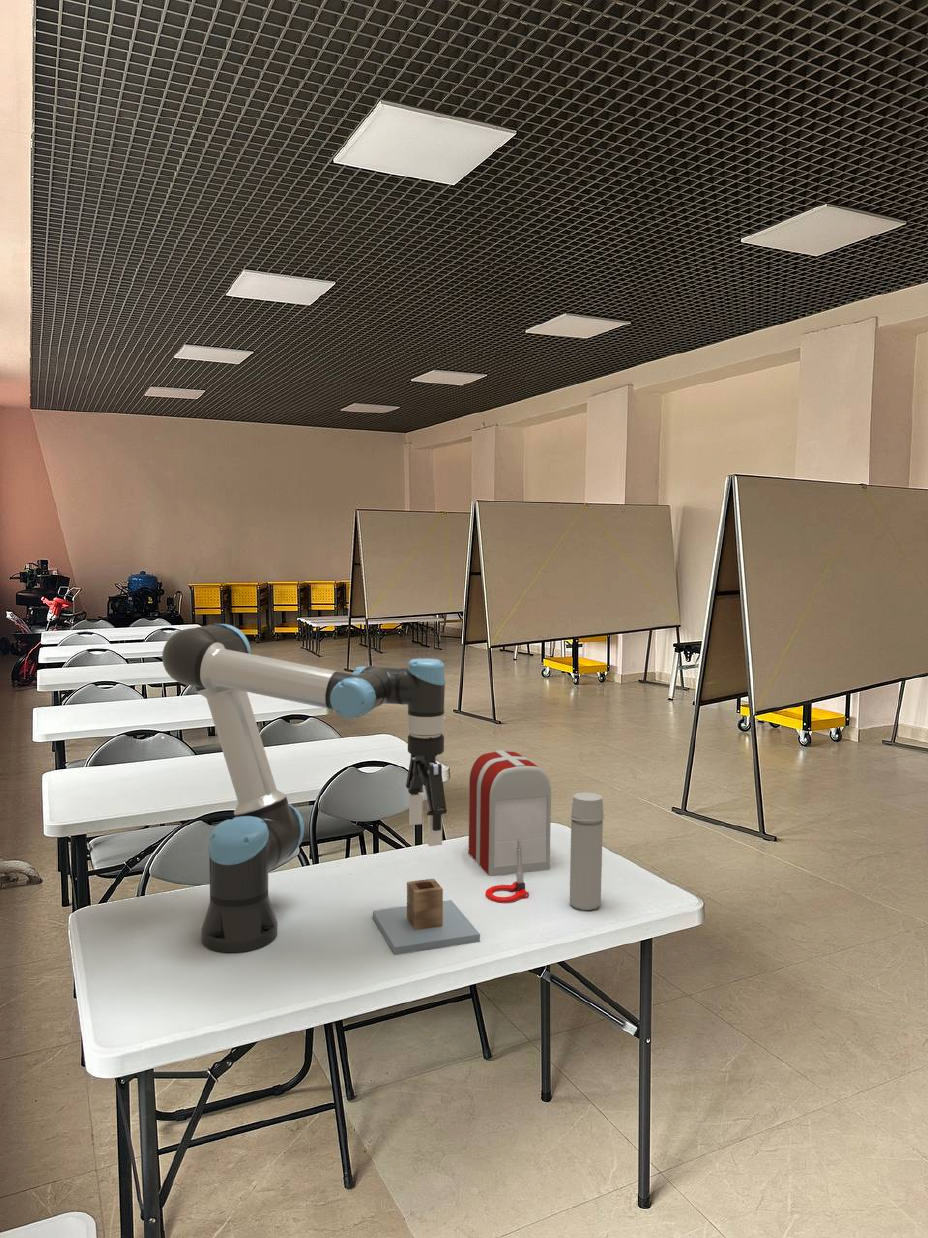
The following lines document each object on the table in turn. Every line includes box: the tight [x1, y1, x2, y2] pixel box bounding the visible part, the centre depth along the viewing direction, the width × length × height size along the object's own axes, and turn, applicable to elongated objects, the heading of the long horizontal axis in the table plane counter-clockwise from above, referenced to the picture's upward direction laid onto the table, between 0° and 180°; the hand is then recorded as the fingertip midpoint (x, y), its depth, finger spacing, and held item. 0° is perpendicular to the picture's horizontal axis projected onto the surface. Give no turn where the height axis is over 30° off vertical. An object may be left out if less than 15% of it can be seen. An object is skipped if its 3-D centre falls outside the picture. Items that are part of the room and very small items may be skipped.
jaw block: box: [406, 878, 444, 930], centre depth 184 cm, size 6×6×8 cm
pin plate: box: [372, 899, 481, 955], centre depth 184 cm, size 18×18×7 cm
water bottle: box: [568, 791, 605, 911], centre depth 197 cm, size 9×8×25 cm
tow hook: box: [485, 839, 530, 904], centre depth 202 cm, size 8×13×9 cm
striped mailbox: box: [467, 749, 552, 877], centre depth 223 cm, size 16×18×27 cm
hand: (425, 834), depth 182 cm, fingers open, 13 cm apart
